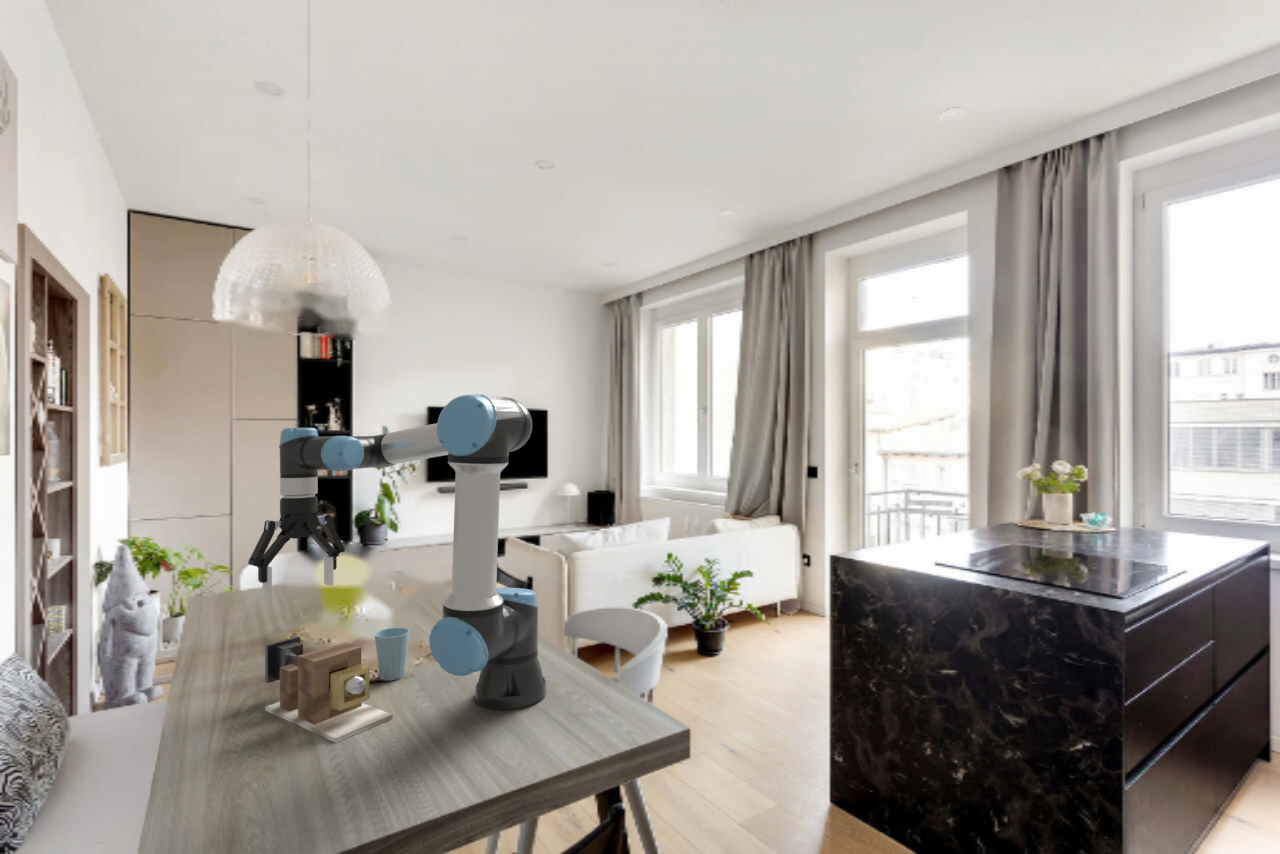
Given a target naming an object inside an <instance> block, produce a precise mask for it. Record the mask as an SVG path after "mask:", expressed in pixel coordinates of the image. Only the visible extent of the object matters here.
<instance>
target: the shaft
mask: <svg viewBox="0 0 1280 854" xmlns="http://www.w3.org/2000/svg"><path fill="white" fill-rule="evenodd" d="M264 647H265V648H264V650H265V651H264V652H265V657H264V658H265V659H264V662H265V667H264V668H265V669H264V670H265V671H264V672H265V676H264V677H265V678H264V679H265V683H266V684H269V683H273V682H276V681H280V667H283V666H286V665H290V664H293V665H296V666H298V656H299V655H303V654H304V644H303V643H301V636H293V637H291V638H290V637H289V638H287V639H283V640H279V641H276V642H275V641H274V642H271V643H268V644H265V646H264ZM338 671H339V670H334V671H331V672H329V685H330V674H332V673H335V672H338ZM365 687H366V681H365V680H364V679H363V678H360V677H357V676H356V677H354V678H351V679H348V680H345V681H344V690H345V691H348V692H350V693H353V694H356V695H358V694H360V693H362V692H363V691H364V689H365Z"/></svg>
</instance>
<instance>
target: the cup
mask: <svg viewBox="0 0 1280 854" xmlns="http://www.w3.org/2000/svg"><path fill="white" fill-rule="evenodd" d="M409 639H410V629H409V628H406V627H389V628H384V629H381V630H378V631H376V632H375V633H374V640H375V648H376V656H377V664H378V665H377V666H378V672H379V679H380V678H382V679H383V680H382V679H381V680H382V681H386V682H387V681H388V682H389V681H395V680H399V679H402V678H403V677H405V675H406V668H407V657H408V650H409V649H408V648H409Z"/></svg>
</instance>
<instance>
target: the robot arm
mask: <svg viewBox="0 0 1280 854" xmlns="http://www.w3.org/2000/svg"><path fill="white" fill-rule="evenodd" d="M532 431H533V419H532V416H531V413H530V411H529V409H528V408H527V407H526V406H525V405H524V404H523V403H522V402H521V401H519V400H517V399H514V398H511V397H506V396H495V395H493V396H492V395H487V394H478V393H476V394H464V395H460V396H457V397H455V398H453V399H451V400H450V401H449V402H448V403H447V404H446V405H445V406H444V407H443V408H442V410H440V414H439V416H438V419H437V422H436V423H433V424H432V423H431V424H427V425H421V426H418V427H413V428H408V429H403V430H398V431H392V432H388V433H382V434H377V435H367V436H366V435H364V436H363V435H356V436H355V435H353V436H351V435H349V436H347V435H333V436H331V435H330V436H329V435H328V436H319V433H318V429H317V428H315V427H285V428H283V429H281V431H280V438H279V446H278V448H279V495H280V496H282V497H281V498H280V499H279V513H280V514H279V520H277V521H276V520H269V519H268V520H265V521H264V524H263V531H262V533H261V535H260V537H259V540H258V541H257V544H256V545H255V547H254V549H253V552H252V553H251V556H250V558H248V561H247V562H248V563H247V564H248V565H250V566H253V567H257V577H258V578H257V581H258V583H261V584H262V590H261V591H262V597H264V598H267V599H272V598H273V567H272V566H270V564H271V563H272V562H273V560H274V559H275V557H276V556H277V555H278V554H279V553H280V551H282V549H283V547H284V546H285V544H286V543H288V542H289V541H290V540H291V539H300V538H309V537H310V538H312V540H313V541H314V542H315V543H316V544H317V545H318V546H319V547H320V548H321V549H322V550H323V551H324V553H326V554H327V555H325V556H323V584H324V585H326V586H334V570H335V571H336V569H337V567H338V566H337V559H338V558H337V557H339V556H340V554H341V553H344V552H345V551H346V548H345V546H344V544H343V542H342V540H341V539H340V536H339V535H338V533H337V531H336V529H335V527H334V525H333V521H332V520H333V519H332V515H330V514H325V513H323V514H321V515H319V516H318V512H319V511H318V509H319V504H318V501H319V500H318V497H317V495H316V494H318V491H319V489H318V487H319V486H318V480H319V479H318V477H319V476H318V471H335V472H346V471H347V472H348V471H353V470H357V469H359V470H360V469H368V468H370V469H372V468H373V469H374V468H379V469H380V468H381V469H382V468H383V469H384V468H388V467H392V466H395V465H397V464H403V463H409V462H415V461H419V460H425V459H431V458H437V457H442V456H447V464H448V465H449V466H450V467H451V468H452V469H454V472H455V477H454V479H455V482H454V507H453V510H454V514H453V515H454V516H453V537H452V538H453V540H452V541H453V542H452V567H451V569H452V571H451V592H450V594H449V595H447V596H446V597H445V599H443V602H442V604H443V605H442V618H441V619H438V621H437V622H436V624H435V625H434V626H433V627H432V628H431V630H430V634H429V641H428V642H429V648H430V649H429V650H430V652H431V655H432V658H434V661H435V662H436V663H438V664H439V666H440V668H441V669H442V670H444V671H445V672H447V673H448V674H450V675H453V676H456V677H463V676H464V677H465V676H469V675H472V674H474V673H476V672H480V673H479V677H478V681H477V683H476V685H475V689H474V693H475V695H474V696H475V697H474V699H475V702H476V703H477V704H478V705H479V706H481V707H483V708H487V709H493V710H514V709H521V708H526V707H529V706H532V705H534V704H537V703H538V702H540V701H541V700H543V699H544V698H545V696H546V694H547V682H546V679H545V677H544V675H543V670H542V667H541V664H540V661H539V656H538V649H539V648H538V646H539V645H538V643H539V642H538V632H539V631H538V630H539V629H538V628H539V625H538V624H539V623H538V620H539V619H538V617H539V616H538V613H539V612H538V610H539V605H538V597H537V593H536V592H535V591H534V590H532V589H527V588H519V587H497V580H498V579H497V576H498V575H497V574H498V550H499V548H498V547H499V545H498V544H499V522H500V521H499V517H500V493H501V492H500V489H501V487H500V486H501V485H500V484H501V473H502V471H503V470H504V469H505V468H506V467H507V466H508V465H509V456H510V455H509V454H510V452H515V451H517V450H519V449H521V448H522V447H523V446H524V445H526V443H527V442H528V441H529V439H530V437H531V435H532ZM319 524H320V525H322V528H323V530H324V532H325V534H326V536H327V538H328V539H329V541H330V543H329V541H328V540H327V539H326V538H325V537H324V536H323V535H322V534H321V532H320V531H319V530H318V528H317V526H318V525H319ZM278 528H279V529H280V530H281V531H280V532H279V533H278V535H277V536H276V538H275V540H274V541H273V542H272V544H271V545H270V546H269V544H270V542H271V540H272V539H273V537H274V534H275V532H276V531H277V530H278Z"/></svg>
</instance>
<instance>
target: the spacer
mask: <svg viewBox="0 0 1280 854" xmlns="http://www.w3.org/2000/svg"><path fill="white" fill-rule="evenodd" d="M356 676H357V677H360V678H363V679H364V680H365V681H366V687H365V689H364V691H363V692H362V693H360V694H358V695H356V694H351V695H348V696H345V697H344V681H345V680H348V679H351V678H354V677H356ZM368 700H370V667H369V666H368V665H365V664H362V663H361V664H360V665H357V666H353V667H350V668H347V669H344V670H341V671H338V672H335V673H332V674H330V707H331V708H334V709H336V710H339V711H340V710H342V709H345V708H348V707H350V706H353V705H355V704H358V703H361V702H362V703H363V702H365V701H368Z"/></svg>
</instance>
